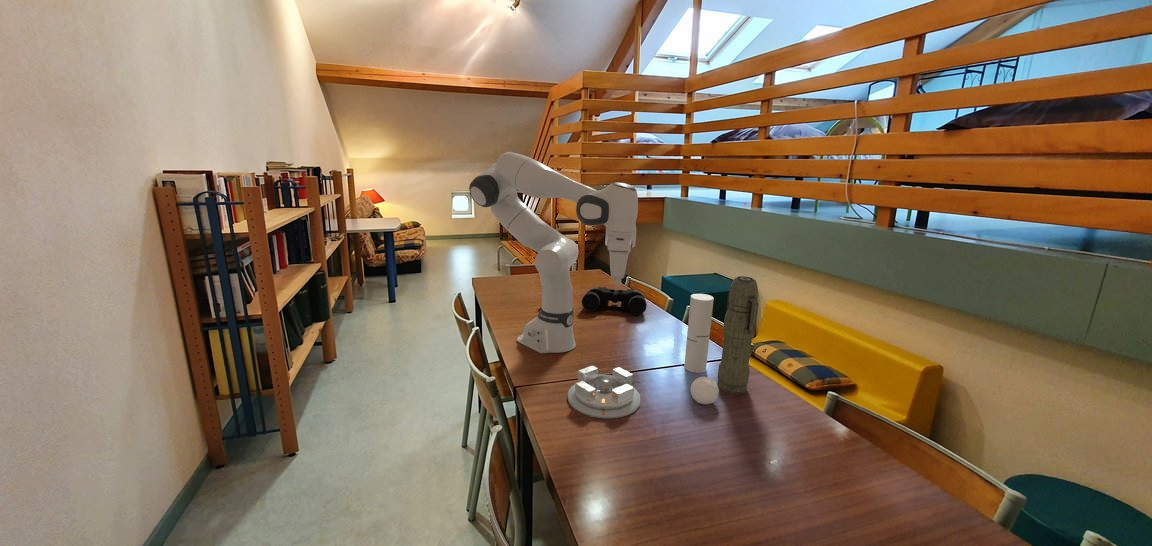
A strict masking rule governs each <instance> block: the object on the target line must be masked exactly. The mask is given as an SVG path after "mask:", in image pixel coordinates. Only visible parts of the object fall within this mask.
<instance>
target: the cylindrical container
mask: <svg viewBox="0 0 1152 546" xmlns="http://www.w3.org/2000/svg"><path fill="white" fill-rule="evenodd" d="M689 302H690V303H689V310H688V311H689V313H688V323H687V332H686V333H687V335H686V342H685V343H686V346H685V355H684V367H683V368H684V369H685V370H687V371H689V372H691V373H697V374H698V373H699V374H701V373H704V372H705V371H706V370H707V363H708V353H709V347H710V346H709V345H710V344H709V343H710V336H711V326H712V318H713V310H714V309H713V308H714V307H713V306H714V297H713V296H712V295H710V294H705V293H693V294H691V295H690V301H689Z"/></svg>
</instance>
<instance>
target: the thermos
mask: <svg viewBox="0 0 1152 546" xmlns="http://www.w3.org/2000/svg"><path fill="white" fill-rule="evenodd" d="M732 280H733V281H732V282H731V285H730V288H729V291H728V292H727V301H726V313H725V315H724V320H723V331H722V333H723V345H722V353H721V360H720V362H719V365H718V369H717V370H718V371H717V382H716V383H717V386H718V389H719V391H720V390H721V391H722V392H724V393H727V394H730V393H731V395H742V394H746V392H747V388H748V384H749V380H750V372H751V371H750V367H749V363H750V356H751V351H752V349H751V348H752V340H753V339H754V337H755V332H756V324H757V318H758V310H759V302H758V293H759V292H758V291H759V288H758V284H757V280H756V279H754V278H753V277H750V276H746V275H745V276H744V275H742V276H737V277H734V279H732Z"/></svg>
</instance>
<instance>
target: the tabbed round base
mask: <svg viewBox="0 0 1152 546" xmlns="http://www.w3.org/2000/svg"><path fill="white" fill-rule="evenodd" d="M633 375H634V374H633V373H632V372H631V373H630V372H629V371H627V370H625V369H623V368H622V367H620V366H618V367H615V368H613V369H612V375H611V374H603V373H602V374H599V367H596V366H595V365H590V366H586V367H585V368H582V369H579V370H577V380H578V381H576V382H575V384H576V385H575V384H574V385H575V397H576V399H577V400H578V401H579V402H580V403H581V404H583V405H585V406H587V407H590V408H593V409H598V410H617V409H621V408H624V407H626V406H628V405H629V404H630V403H631V402H632V401H633V396H634V388H635V387H634V386H633V385H632V384H633Z"/></svg>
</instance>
